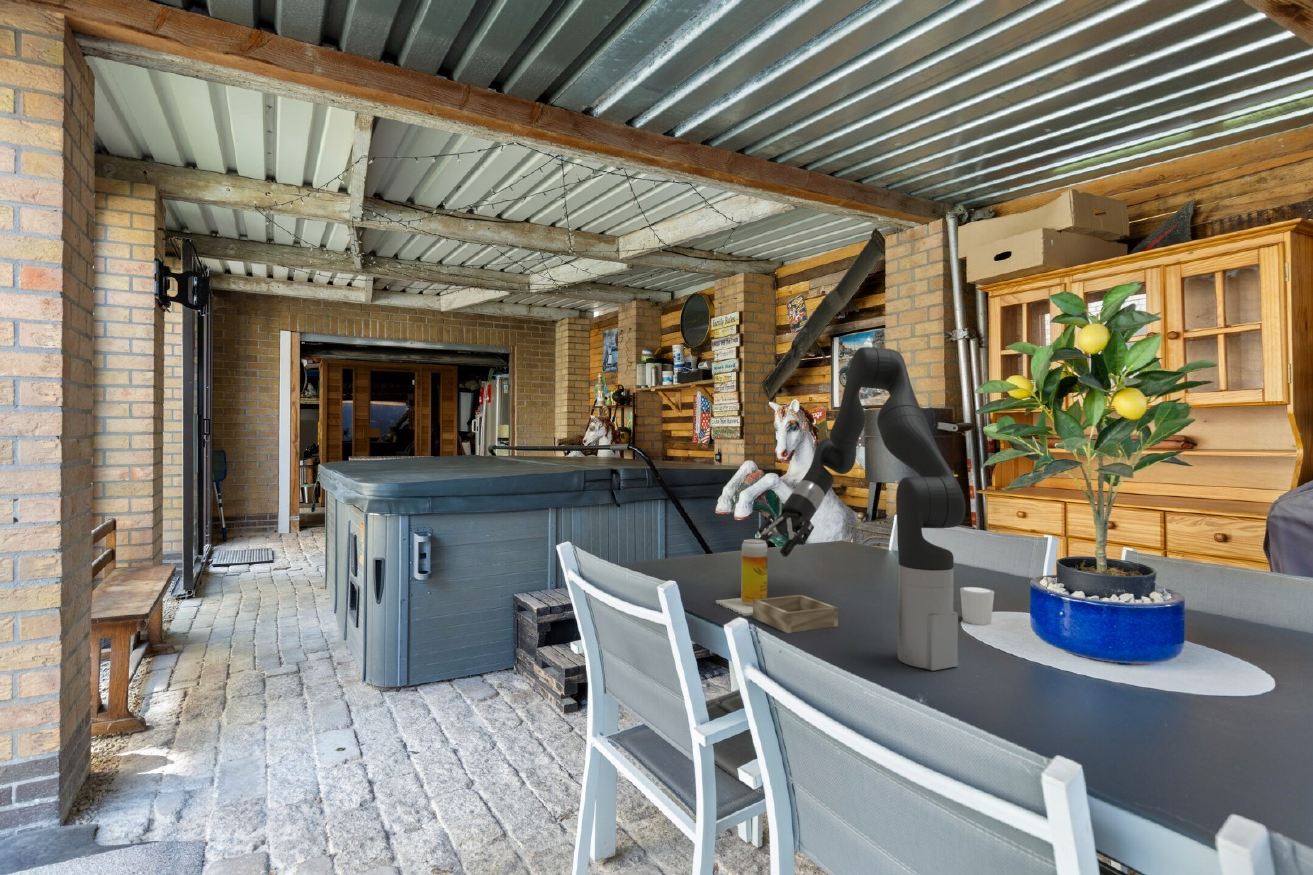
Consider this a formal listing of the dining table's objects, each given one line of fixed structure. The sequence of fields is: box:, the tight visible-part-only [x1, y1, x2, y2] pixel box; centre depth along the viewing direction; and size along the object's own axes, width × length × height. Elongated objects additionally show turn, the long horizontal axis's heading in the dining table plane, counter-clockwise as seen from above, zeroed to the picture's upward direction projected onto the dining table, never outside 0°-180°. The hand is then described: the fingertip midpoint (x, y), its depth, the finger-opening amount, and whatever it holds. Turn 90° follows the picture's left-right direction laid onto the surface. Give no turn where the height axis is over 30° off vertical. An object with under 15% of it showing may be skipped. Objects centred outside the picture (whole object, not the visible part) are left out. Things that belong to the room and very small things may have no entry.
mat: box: [715, 597, 753, 617], centre depth 161 cm, size 13×13×1 cm
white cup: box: [959, 586, 995, 626], centre depth 150 cm, size 7×7×7 cm
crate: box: [752, 594, 839, 634], centre depth 147 cm, size 13×13×4 cm
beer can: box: [740, 538, 768, 606], centre depth 161 cm, size 6×6×15 cm
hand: (770, 552), depth 164 cm, fingers open, 8 cm apart
